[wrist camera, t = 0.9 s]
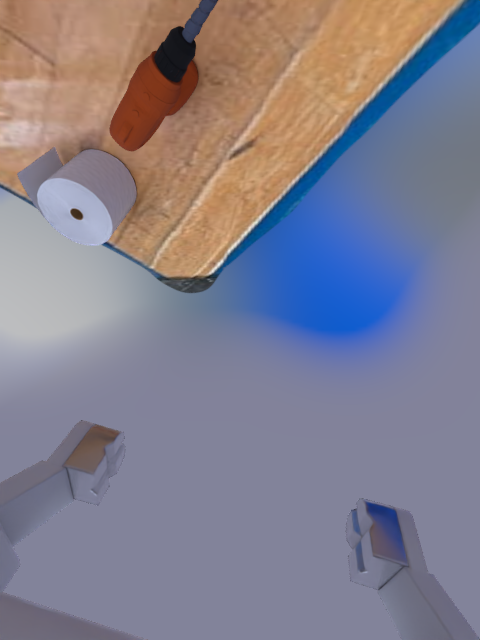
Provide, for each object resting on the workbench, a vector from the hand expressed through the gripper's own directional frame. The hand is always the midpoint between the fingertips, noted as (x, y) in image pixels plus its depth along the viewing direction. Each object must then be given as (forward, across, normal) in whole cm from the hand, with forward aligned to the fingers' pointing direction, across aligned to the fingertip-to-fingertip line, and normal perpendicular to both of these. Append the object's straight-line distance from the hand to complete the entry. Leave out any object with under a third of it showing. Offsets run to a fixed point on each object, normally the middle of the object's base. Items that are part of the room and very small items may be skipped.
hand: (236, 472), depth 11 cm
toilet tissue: (+44, +32, +2) cm, 55 cm away
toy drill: (+40, +16, -16) cm, 46 cm away
